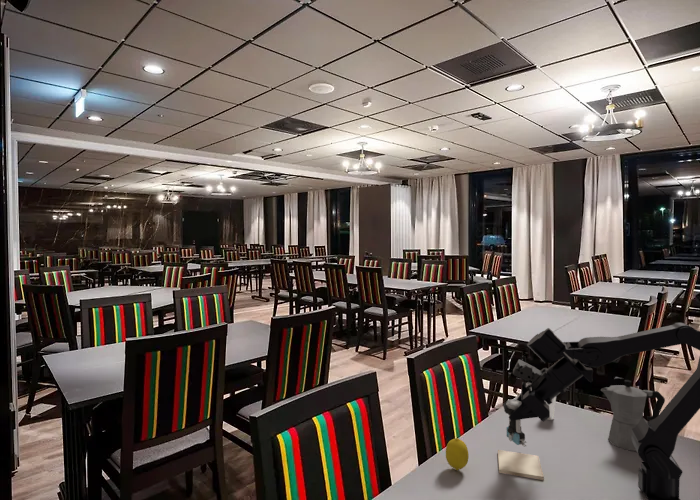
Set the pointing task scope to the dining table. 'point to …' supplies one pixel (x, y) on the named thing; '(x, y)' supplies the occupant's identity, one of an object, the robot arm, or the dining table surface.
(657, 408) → the coffeepot
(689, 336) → the robot arm
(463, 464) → the lemon
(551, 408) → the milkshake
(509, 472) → the birch pad
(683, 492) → the dining table surface
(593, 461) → the dining table surface
